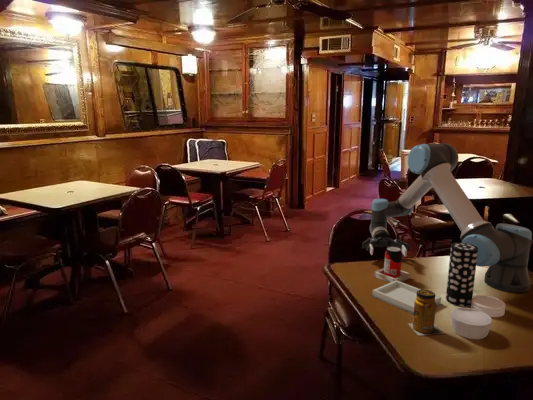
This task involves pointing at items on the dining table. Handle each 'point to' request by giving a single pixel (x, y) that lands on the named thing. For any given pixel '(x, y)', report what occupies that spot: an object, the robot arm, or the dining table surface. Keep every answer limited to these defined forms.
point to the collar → (389, 279)
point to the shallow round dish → (488, 305)
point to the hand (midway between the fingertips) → (388, 252)
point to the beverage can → (392, 262)
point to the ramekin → (470, 323)
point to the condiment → (425, 314)
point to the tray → (399, 295)
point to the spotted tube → (461, 274)
